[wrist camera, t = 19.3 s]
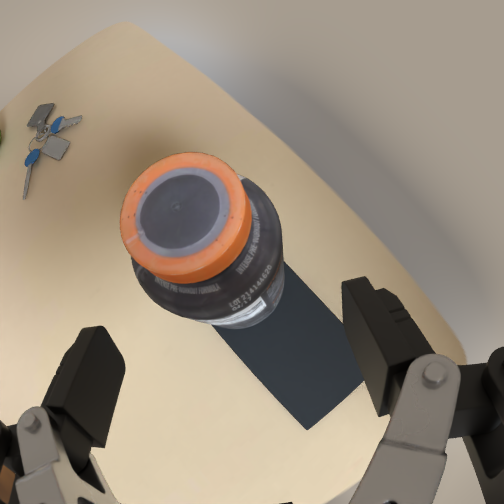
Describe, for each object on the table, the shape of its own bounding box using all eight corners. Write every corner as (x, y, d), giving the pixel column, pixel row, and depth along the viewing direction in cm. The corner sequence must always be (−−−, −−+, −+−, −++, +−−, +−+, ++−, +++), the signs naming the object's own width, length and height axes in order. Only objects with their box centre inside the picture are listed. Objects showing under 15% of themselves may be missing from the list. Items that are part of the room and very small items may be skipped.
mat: (378, 364, 17) (380, 364, 17) (306, 429, 17) (307, 430, 16) (184, 159, 23) (183, 157, 23) (125, 210, 22) (122, 208, 22)
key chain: (30, 115, 28) (26, 112, 27) (82, 80, 28) (79, 76, 28) (25, 202, 24) (20, 199, 23) (89, 160, 24) (84, 156, 23)
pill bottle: (223, 221, 21) (167, 104, 10) (302, 266, 19) (320, 168, 9) (173, 296, 20) (62, 241, 9) (250, 348, 18) (202, 354, 7)
